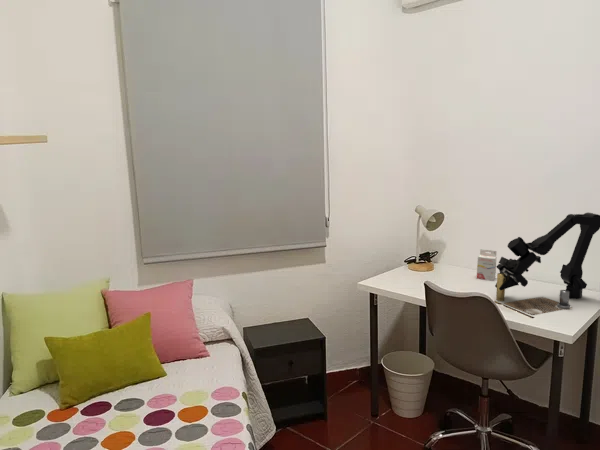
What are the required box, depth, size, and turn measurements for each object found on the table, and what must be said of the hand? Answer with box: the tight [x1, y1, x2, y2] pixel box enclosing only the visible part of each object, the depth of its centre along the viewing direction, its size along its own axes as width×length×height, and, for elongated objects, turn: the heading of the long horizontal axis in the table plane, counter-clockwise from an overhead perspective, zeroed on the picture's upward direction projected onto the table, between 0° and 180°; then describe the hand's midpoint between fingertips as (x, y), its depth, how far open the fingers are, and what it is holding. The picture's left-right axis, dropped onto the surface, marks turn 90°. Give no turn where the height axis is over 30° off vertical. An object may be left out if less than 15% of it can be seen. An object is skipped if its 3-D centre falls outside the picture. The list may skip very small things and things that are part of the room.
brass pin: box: [493, 272, 506, 305], centre depth 215 cm, size 5×5×13 cm
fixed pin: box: [556, 289, 571, 310], centre depth 204 cm, size 5×5×7 cm
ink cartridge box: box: [476, 249, 497, 281], centre depth 251 cm, size 9×5×15 cm, turn 58°
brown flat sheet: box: [502, 296, 573, 319], centre depth 208 cm, size 22×17×1 cm
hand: (497, 288), depth 215 cm, fingers closed on brass pin, 3 cm apart
